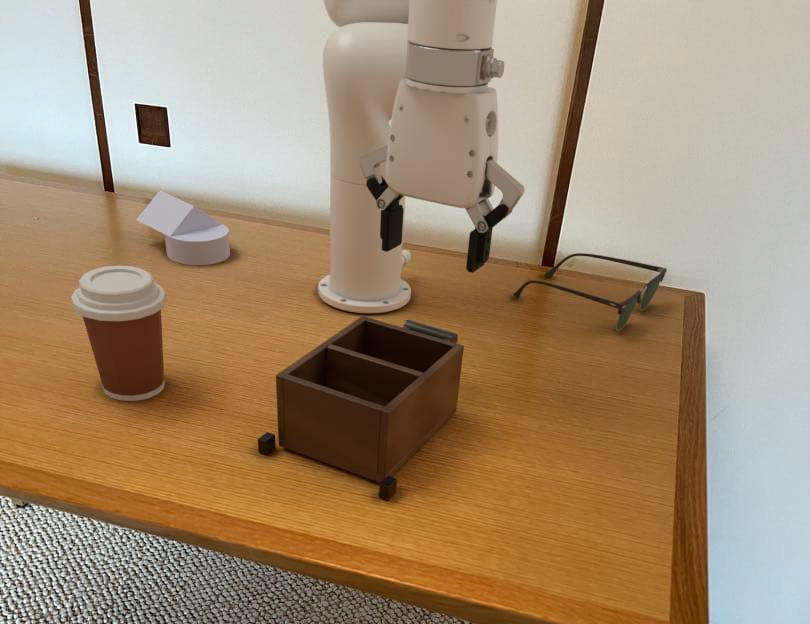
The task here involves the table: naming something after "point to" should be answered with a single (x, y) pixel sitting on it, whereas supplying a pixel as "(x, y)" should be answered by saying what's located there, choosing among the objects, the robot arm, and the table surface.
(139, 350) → the coffee cup
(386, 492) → the dark brown rod
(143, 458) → the table surface
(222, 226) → the wedge on round base
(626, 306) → the sunglasses
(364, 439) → the shelf
